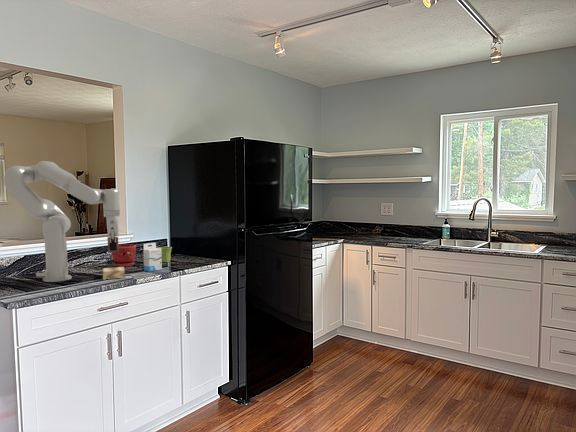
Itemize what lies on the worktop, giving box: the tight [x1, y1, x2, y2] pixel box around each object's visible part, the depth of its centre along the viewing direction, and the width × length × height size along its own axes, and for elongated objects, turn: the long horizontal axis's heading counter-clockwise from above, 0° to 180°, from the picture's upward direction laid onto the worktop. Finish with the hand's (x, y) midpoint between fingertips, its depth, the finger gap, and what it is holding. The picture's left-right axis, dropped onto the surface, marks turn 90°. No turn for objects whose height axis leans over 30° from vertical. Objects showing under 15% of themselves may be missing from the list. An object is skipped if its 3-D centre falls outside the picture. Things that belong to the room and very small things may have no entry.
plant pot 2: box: [157, 246, 173, 263], centre depth 266 cm, size 9×9×9 cm
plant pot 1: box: [111, 244, 137, 268], centre depth 253 cm, size 13×13×12 cm
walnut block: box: [107, 236, 120, 253], centre depth 221 cm, size 5×5×7 cm
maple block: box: [102, 266, 126, 281], centre depth 222 cm, size 10×10×4 cm
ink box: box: [143, 242, 163, 272], centre depth 239 cm, size 9×5×15 cm, turn 145°
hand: (113, 249), depth 221 cm, fingers closed on walnut block, 5 cm apart
